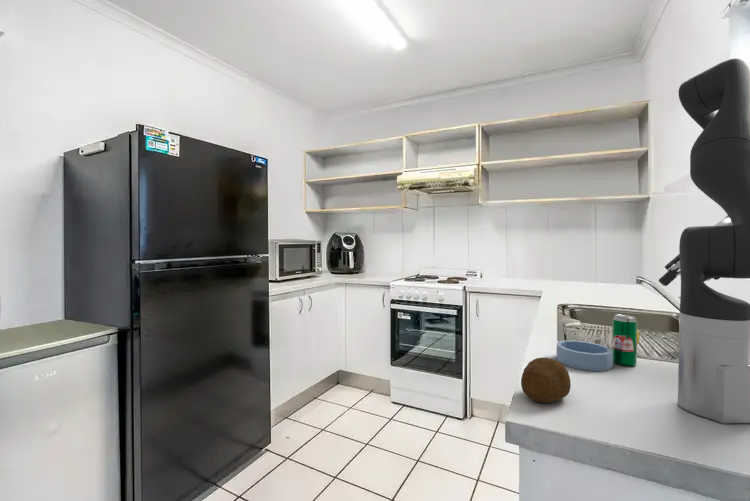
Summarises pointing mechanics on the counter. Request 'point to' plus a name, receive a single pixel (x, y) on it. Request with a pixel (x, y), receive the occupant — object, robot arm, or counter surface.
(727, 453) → the counter surface
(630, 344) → the soda can
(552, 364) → the potato
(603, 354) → the bowl
